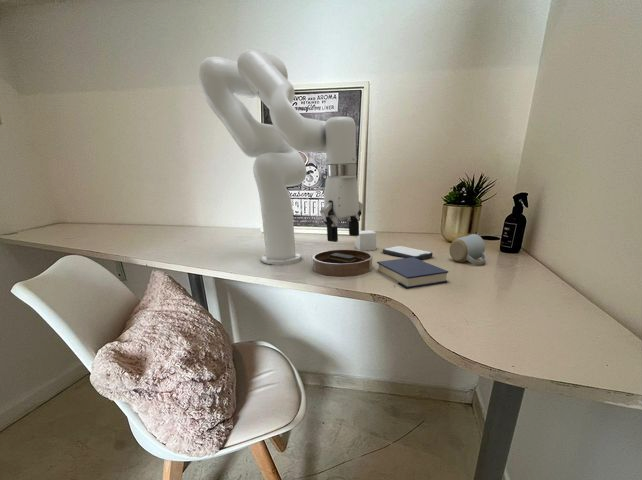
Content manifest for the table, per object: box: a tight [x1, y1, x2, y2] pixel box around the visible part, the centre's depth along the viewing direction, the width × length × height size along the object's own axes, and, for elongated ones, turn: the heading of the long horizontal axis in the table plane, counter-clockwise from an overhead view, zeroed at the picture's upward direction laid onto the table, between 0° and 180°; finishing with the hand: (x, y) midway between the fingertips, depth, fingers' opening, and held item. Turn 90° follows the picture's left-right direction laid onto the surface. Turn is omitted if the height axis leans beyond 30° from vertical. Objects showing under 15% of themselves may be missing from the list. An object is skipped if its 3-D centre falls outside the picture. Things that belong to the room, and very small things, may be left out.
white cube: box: [355, 229, 377, 251], centre depth 121 cm, size 6×6×6 cm
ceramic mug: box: [448, 233, 487, 266], centre depth 101 cm, size 11×8×8 cm
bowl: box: [312, 248, 374, 277], centre depth 97 cm, size 17×17×4 cm
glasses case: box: [330, 253, 356, 264], centre depth 96 cm, size 7×3×4 cm, turn 52°
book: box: [376, 257, 449, 289], centre depth 89 cm, size 16×12×3 cm
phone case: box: [382, 245, 433, 260], centre depth 112 cm, size 9×2×16 cm
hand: (343, 238), depth 93 cm, fingers open, 9 cm apart
